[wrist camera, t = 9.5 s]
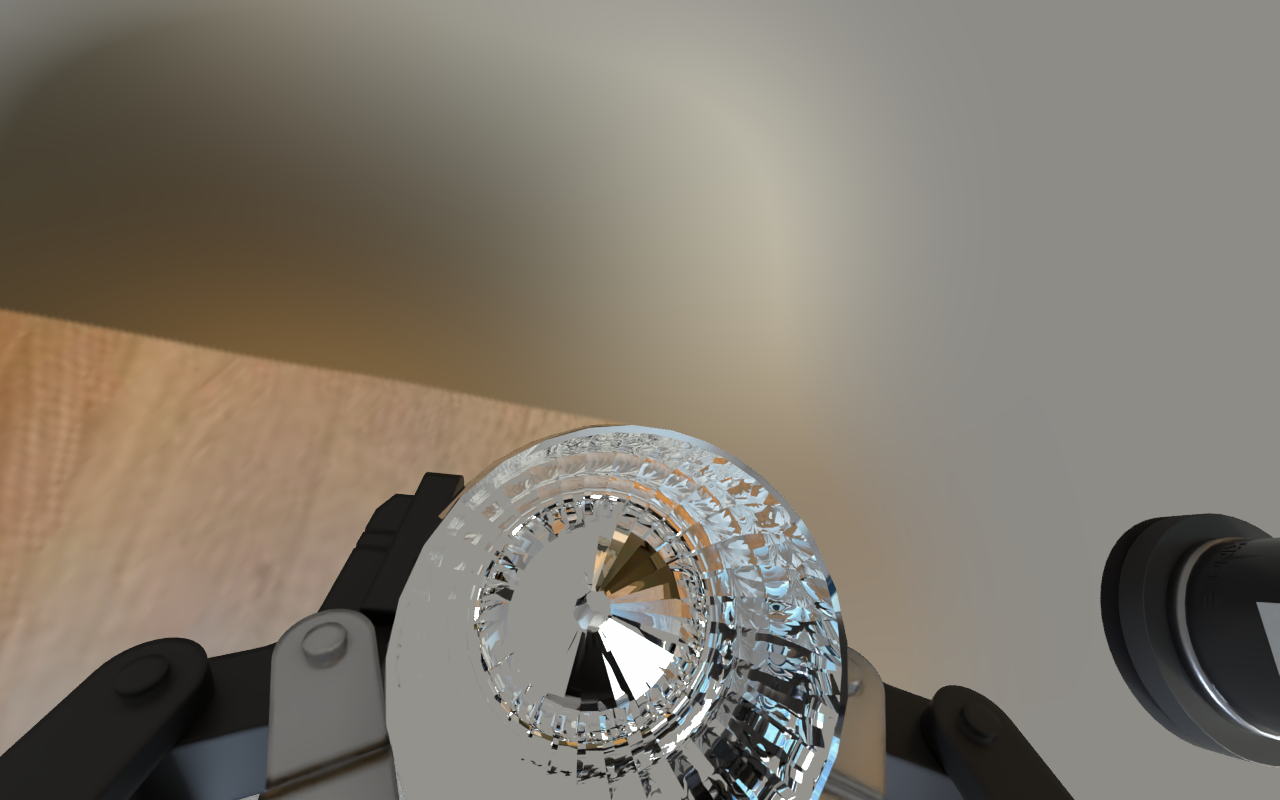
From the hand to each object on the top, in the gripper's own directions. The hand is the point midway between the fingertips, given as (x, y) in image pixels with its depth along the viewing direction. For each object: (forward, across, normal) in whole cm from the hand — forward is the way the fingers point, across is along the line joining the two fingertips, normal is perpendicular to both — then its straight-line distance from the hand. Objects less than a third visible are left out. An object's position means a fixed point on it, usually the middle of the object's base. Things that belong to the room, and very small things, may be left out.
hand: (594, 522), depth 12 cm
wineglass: (+3, 0, +5) cm, 6 cm away
